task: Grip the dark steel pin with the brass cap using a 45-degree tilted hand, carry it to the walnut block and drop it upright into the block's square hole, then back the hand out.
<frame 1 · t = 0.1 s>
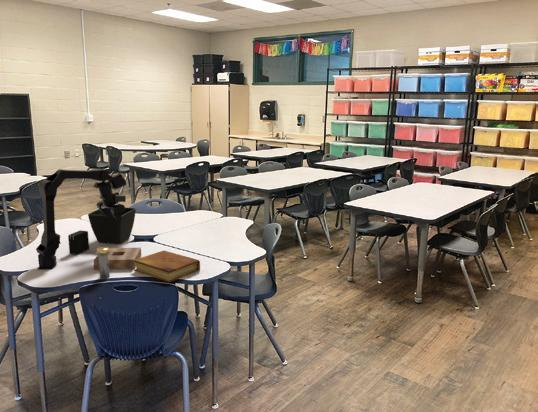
hand: (115, 221, 233), 15 cm above the table, tool pointing down, fingers open, 9 cm apart
socket block: (118, 262, 219), on the table
pin: (104, 277, 200), on the table
diary: (167, 271, 210), on the table
electronic device: (79, 252, 234), on the table
flower pot: (114, 241, 254), on the table
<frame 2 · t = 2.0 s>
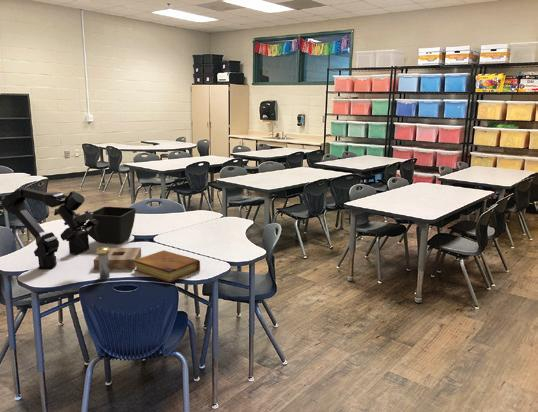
hand: (92, 244, 201), 14 cm above the table, tool tilted 45°, fingers open, 9 cm apart
nothing on the table moved.
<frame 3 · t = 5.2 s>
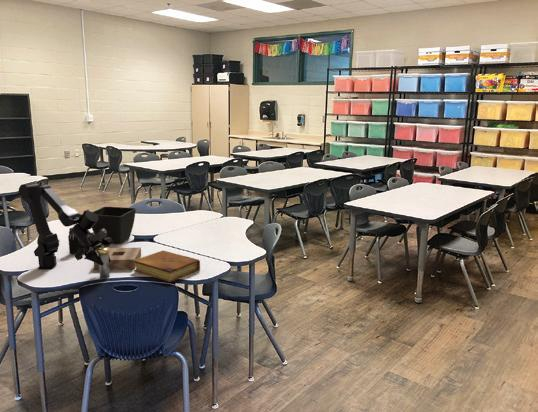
hand: (106, 263, 198), 7 cm above the table, tool tilted 45°, fingers closed on pin, 4 cm apart
pin: (104, 277, 200), on the table, touching gripper
everything else where it was.
when the fingers open (7 cm above the table, at t = 9.8 s): pin stays where it is, resting in socket block.
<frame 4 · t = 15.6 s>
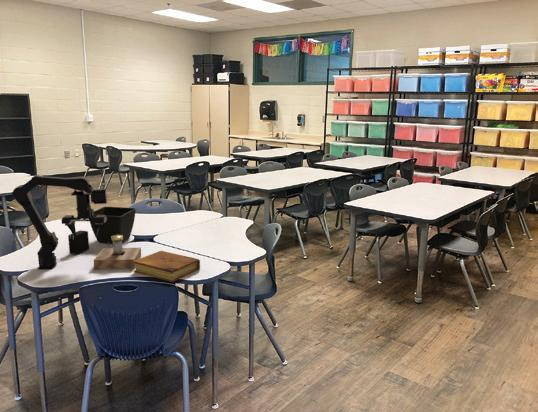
hand: (85, 237, 214), 13 cm above the table, tool pointing down, fingers open, 9 cm apart
pin: (118, 262, 219), resting in socket block
everything else where it was.
at the end: pin 0.1 cm off-centre on the socket block, point 0.0 cm above the socket block's base; pin tilted 0°; the gripper is holding nothing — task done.
